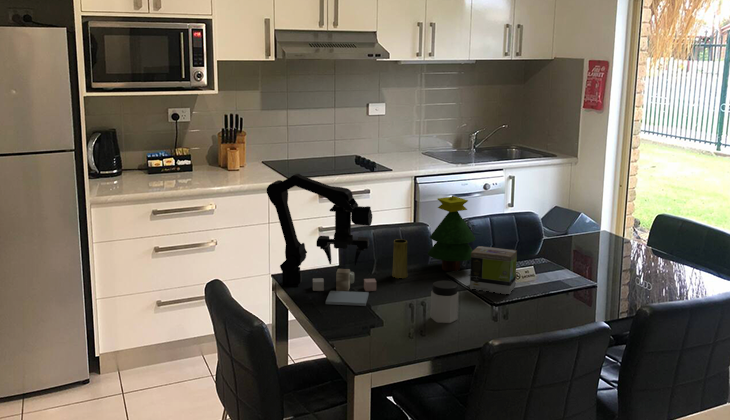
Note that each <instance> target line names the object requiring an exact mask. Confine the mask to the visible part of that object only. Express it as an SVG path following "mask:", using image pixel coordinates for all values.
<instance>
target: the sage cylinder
mask: <svg viewBox="0 0 730 420" xmlns="http://www.w3.org/2000/svg"><path fill="white" fill-rule="evenodd" d="M354 283H355V272H354V271H350V285H351V284H354Z"/></svg>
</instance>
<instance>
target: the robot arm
mask: <svg viewBox="0 0 730 420" xmlns="http://www.w3.org/2000/svg"><path fill="white" fill-rule="evenodd" d="M294 187H296V188H300V189H302V190H304V191H305V190H306V191H307V192H310V193H313V194H316V195H318V196H320V197H324V198H325V199H326V200H328V201H329V202H331V204H333V206H332V207H331V208H330V209H329V212H333V213H334V217H335V218H334V223H335V224H334V234H333V238H330V236H329V235H319V236H318V238H317V239H316V247H317V248H320V250H322V251H324V253H325V255H326V258H327V261H328V264H329V265H332V249H331V245H333V248H334V249H342V250H346V249H348V246H356V248H355V257H354V266H357V263H358V261H359V257H360V254H361V252H362V251H365V250H367V249H369V246H370V238H369V237H365V236H364V237H361V236H359V237H358V238H357V239H354V235H353V234H352V223H353V224H354V225H358V226H369V227H370V226H371V225H372V222H373V214H372V213H373V212H372V210H371V207H372V206H369V205H368V206H367V205H366V206H359V204H358V202H357V201H356V199H355V198H354V197H353V196H354V195H353V193H352V190H351V189H349V188H346V187H342V186H334V185H333V186H331V185H328V184H325V183H323V182H320V181H319V180H318V181H317V180H315V179H312V178H311V177H310V178H309V177H307V176H304V175H303V174H301V173H295V174H292V175H291V176H290V177H288V178H286V179H283V180H278V179H277V180H276V181H274V182H272V183H270V184H269V185H267V188H266V195H267V196H268V199H269V201H270V202H271V204H272V205H273V206H274V207H275V210H276V214H277V217H278V220H279V224H280V228H281V231H282V232H281V233H282V235H283V238H284V242H285V247H284V248H285V249H284V250H285V251H284V254H285V260H284V261H283V262H282V263H281V264H280V265H279V268H280V270H281V272H282V273H281V276H282V278H281V279H282V283H281V287H300V285H301V283H302V280H303V277H302V276H303V274H302V273H303V271H302V270H301V265H302V263H304V261H305V260H306V258H307V253H308V251H307V249H306V244H305V242H302V243H301V242H300V240H299V239H298V236H297V232H296V229H295V225H294V222H293V218H292V215H291V212H290V206H289V204H288V201H289V190H290V189H292V188H294Z"/></svg>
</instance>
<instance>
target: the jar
mask: <svg viewBox="0 0 730 420" xmlns="http://www.w3.org/2000/svg"><path fill="white" fill-rule="evenodd" d="M431 287H432V290H431V291H430V315H429V317H430V318H431V319H432V320H433V321H434V322H435V323H441V324H452V323H453V322H455V321H457V320H458V316H459V315H458V313H459V311H458V310H459V292H458V284H457V283H456V282H454V281H451V280H436V281H434V282H433V283H432V286H431Z"/></svg>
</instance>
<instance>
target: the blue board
mask: <svg viewBox="0 0 730 420" xmlns="http://www.w3.org/2000/svg"><path fill="white" fill-rule="evenodd" d="M369 292H370V291H336V290H330V291H329V292H328V295H327V297H326V300H325V305H339V306H341V305H342V306H361V307H366V305H367V301H368V298H369V295H370V293H369Z"/></svg>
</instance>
